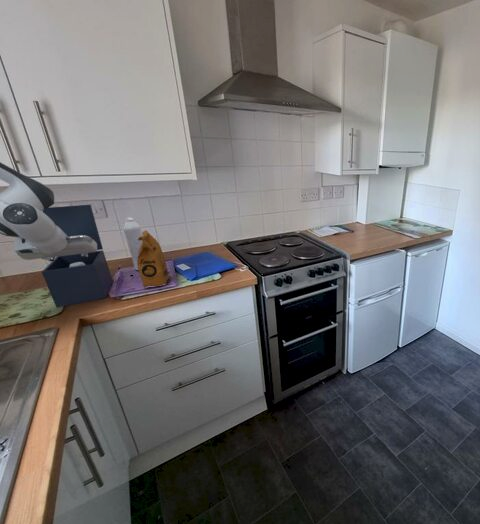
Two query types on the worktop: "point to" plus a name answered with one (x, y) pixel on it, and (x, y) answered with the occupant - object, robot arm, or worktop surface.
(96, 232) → the box lid
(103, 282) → the storage box
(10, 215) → the robot arm
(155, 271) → the coffee package
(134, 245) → the water bottle
